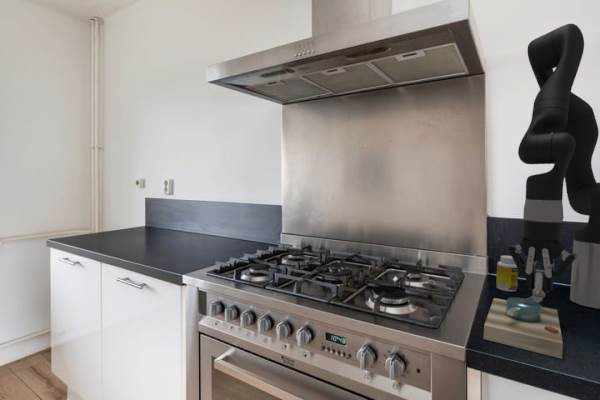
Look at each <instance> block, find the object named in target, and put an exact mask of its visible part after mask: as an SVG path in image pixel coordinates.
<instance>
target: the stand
mask: <svg viewBox="0 0 600 400" xmlns="http://www.w3.org/2000/svg"><path fill="white" fill-rule="evenodd" d="M506 304H507V299H502V298H496V297H493V299H492V302H491V305H490V308H489V310H488V314H487V316H486V320H485V322H484V324H483V325H484V326H483V339H484V340H486V341H491V342H494V343H499V344H502V345H505V346H509V347H514V348H517V349H522V350H526V351H529V352H533V353H536V354H541V355H545V356H549V357H553V358H557V359H563V347H564V343H563V336H562V330H561V325H560V319H559V313H558V309H555V308H550V307H544V306H541V320H540V321H538V322H528V321H522V320H518V319H515V318H512V317H510V316H509V315H507V314H506Z"/></svg>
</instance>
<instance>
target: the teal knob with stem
mask: <svg viewBox="0 0 600 400" xmlns="http://www.w3.org/2000/svg"><path fill="white" fill-rule="evenodd" d="M544 277H546V275H545V269H544V270H543V269H535V270H534V279H533V290H532V295H531V296H530V297H528V298H523V297H508V298H507V299H506V300H507V304H506V314H507V315H509V316H510V317H512V318H515V319H518V320H522V321H528V322H538V321H540V320H541V307H542V305H541V303H540V302H543V298H545V297H546V293H544Z"/></svg>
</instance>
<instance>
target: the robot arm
mask: <svg viewBox="0 0 600 400" xmlns="http://www.w3.org/2000/svg"><path fill="white" fill-rule="evenodd" d="M583 35H584V34H583V32H582V30H581V28H580V27H579V26H578V25H577V24H574V23H568V24H567V23H565V24H564V25H561V26H559V27H557V28H555V29H553V30H551V31H549V32H547V33H545V34H542V35H541V36H538V37H536V38H534V39H533V40H532V41H530V42H529V43H528V46H527V49H526V50H527V57H528V61H529V64H530V67H531V69H532V72H533V75H534V77H535V80H536V83H537V85H538V87H539V91H538V92H537V94H536V96H535V99H534V101H533V107H532V115H531V121H530V123H529V125H528V128H527V130H526V131H525V134H523V137H522V139H521V140H520V144H519V146H518V151H517V155H518V157H519V160H520V161H521V162H522V163H524V164H526V165H552V164H553V167H552V168H551V169H550V170H549V171H547V172H542V173H538V174H532V175H529V176H528V177H527V179H526V181H525V182H526V183H525V200H524V201H525V202H524V205H523V214H522V215H523V216H522V217H523V218H522V239H521V241H520V242H519V244H516V245H515V244H514V245H511V246H508V248H507V250H508V252H509V254H510V256H512V258H513V260H514V262H515V264H516V266H517V268H518V271H519V270H520V271H522V272H524V273H525V287H528V290H531V291H533V279H534V270H536V265H537V263H538V262H542V263H543V267H544V271H545V275H546V277H544V293H545V294H549V293H550V292H551V291H552V290H553V289H554V278H557V277H558V278H561V277H562V276H564V274H565V273H566V272H567V271H568V269H569V268H570V267H571V274H570V276H571V278H570V291H569V292H570V293H569V295H570V296H569V300H570V301H571V302H573V303H576V304H578V305H580V306H583V307H588V308H593V309H596V310H597V309H598V310H600V182H597V181H596V179H595V176H594V175H595V174H594V171H593V167H592V160H593V159H592V158H593V155H594V151H595V150H596V146H597V143H598V139H599V134H600V133H599V132H600V131H599V125H598V123H597V119H596V115H595V111H594V109H593V108H592V106H591V105H590V104H589V103H588V102H587V101H586V100H585V99H583V98H581V97H580V96H578V95H577V94H576V93H574V92H572V88H573V85H574V82H575V79H576V78H577V77H576V76H577V74H578V70H579V67H580V65H581V61H582V57H583V55H584V50H585V39H584V36H583ZM564 182H565V189H566V195H567V200H568V204H569V206H570V208H571V209H572V210H573V211H574V212H575V213H577V214H579V215H581V216H588V220H587V223H586V225H585V226H583V227H579V228H576V229H575V230H574V231H573V243H572V252H570V251H568V250H566V249H565V247H564V244H563V242H562V241H563V223H564V204H563V196H564V195H563V193H564ZM522 251H523V252H524V254H525V255H526V256H527V260H526V263H525V261H524V258H523V256H522V254H521V253H522ZM560 255H562V257H561V260H563V261H562V264H561V265H559V267H558V269H557V270H555V260H556V258H558V257H559V256H560Z"/></svg>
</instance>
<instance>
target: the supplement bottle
mask: <svg viewBox="0 0 600 400" xmlns="http://www.w3.org/2000/svg"><path fill="white" fill-rule="evenodd" d="M496 265H497V266H496V283H495V285H496V289H498V290H501V291H503V292H510V293H511V292H512V293H513V292H517V290H518V280H519V269H518V268H517V266H516V264H515V262H514V260H513V258H512V256H511V255H500V261H497V263H496Z"/></svg>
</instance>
